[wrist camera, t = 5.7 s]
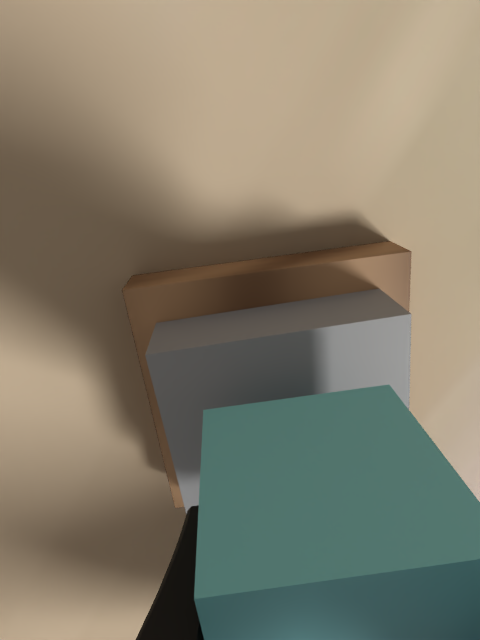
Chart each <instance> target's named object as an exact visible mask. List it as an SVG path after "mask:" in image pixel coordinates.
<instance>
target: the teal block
mask: <svg viewBox="0 0 480 640" xmlns="http://www.w3.org/2000/svg"><path fill="white" fill-rule="evenodd" d="M194 601H195V605H196V609H197V613H198V617H199V621H200V625H201V629H202V633H203V637H204V640H480V502H479V501H478V500H477V498H476V497H475V496H474V494H473V493H472V492H471V490H470V489H469V488H468V487H467V485H466V484H465V483H464V481H463V480H462V479H461V477H460V476H459V475H458V473H457V472H456V471H455V470H454V468H453V467H452V466H451V464H450V463H449V462H448V460H447V459H446V458H445V457H444V455H443V454H442V453H441V451H440V450H439V449H438V447H437V446H436V445H435V443H434V442H433V441H432V440H431V438H430V437H429V436H428V434H427V433H426V432H425V430H424V429H423V428H422V427H421V425H420V424H419V423H418V421H417V420H416V419H415V417H414V416H413V415H412V413H411V412H410V411H409V410H408V408H407V407H406V406H405V404H404V403H403V402H402V400H401V399H400V398H399V396H398V395H397V394H396V393H395V391H394V390H393V389H392V387H391V386H390V385H382V386H374V387H367V388H360V389H352V390H345V391H338V392H330V393H323V394H316V395H309V396H301V397H294V398H287V399H279V400H272V401H265V402H258V403H250V404H243V405H236V406H228V407H221V408H214V409H206V410H203V427H202V447H201V468H200V488H199V508H198V529H197V549H196V569H195V590H194Z"/></svg>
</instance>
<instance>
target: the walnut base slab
mask: <svg viewBox="0 0 480 640" xmlns="http://www.w3.org/2000/svg"><path fill="white" fill-rule="evenodd" d="M410 275H411V251H409V250H407V249H405V248H403V247H401V246H399V245H397V244H395V243H393V242H391V241H387V242H380V243H372V244H365V245H357V246H350V247H342V248H335V249H327V250H320V251H312V252H305V253H297V254H290V255H282V256H275V257H267V258H260V259H252V260H245V261H237V262H230V263H222V264H215V265H207V266H200V267H192V268H185V269H177V270H170V271H163V272H155V273H148V274H140V275H133V276H132V277H131V278H130V280H129V281H128V283H127V284H126V285H125V287H124V288H123V290H122V292H123V296H124V300H125V304H126V308H127V312H128V316H129V320H130V325H131V329H132V333H133V337H134V341H135V345H136V349H137V353H138V357H139V362H140V366H141V370H142V374H143V378H144V382H145V386H146V390H147V394H148V398H149V403H150V407H151V411H152V415H153V419H154V423H155V427H156V431H157V435H158V440H159V444H160V448H161V452H162V456H163V460H164V464H165V468H166V472H167V477H168V481H169V485H170V489H171V493H172V497H173V501H174V505H175V508H178V507H184V503H183V499H182V495H181V491H180V488H179V484H178V480H177V476H176V472H175V468H174V464H173V461H172V457H171V453H170V449H169V445H168V441H167V437H166V434H165V430H164V426H163V422H162V418H161V414H160V410H159V407H158V403H157V399H156V395H155V391H154V387H153V383H152V380H151V376H150V372H149V368H148V364H147V360H146V356H145V354H146V351H147V348H148V345H149V342H150V339H151V336H152V333H153V331H154V328H155V325H156V323H159V322H165V321H172V320H178V319H185V318H191V317H198V316H204V315H210V314H217V313H223V312H230V311H236V310H243V309H249V308H256V307H262V306H269V305H275V304H282V303H288V302H295V301H301V300H308V299H314V298H321V297H327V296H334V295H340V294H347V293H353V292H360V291H366V290H373V289H379V288H380V289H381V290H382V291H383V292H385V293H386V294H387V295H388V296H390V297H391V298H392V299H393V300H394V301H396V302H397V303H398V304H399V305H401V306H402V307H403V308H404V309H406V310H407V311H408V312H409V301H410Z"/></svg>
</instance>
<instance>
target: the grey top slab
mask: <svg viewBox="0 0 480 640" xmlns="http://www.w3.org/2000/svg"><path fill="white" fill-rule="evenodd" d="M410 347H411V313H409V312H408V311H407V310H406V309H404V308H403V307H402V306H401V305H399V304H398V303H397V302H396V301H394V300H393V299H392V298H391V297H390V296H388V295H387V294H386V293H385V292H383V291H382V290H381V289H380V288H379V289H373V290H366V291H360V292H353V293H347V294H340V295H334V296H327V297H321V298H314V299H308V300H301V301H295V302H288V303H282V304H275V305H269V306H262V307H256V308H249V309H243V310H236V311H230V312H223V313H217V314H210V315H204V316H198V317H191V318H185V319H178V320H172V321H165V322H159V323H156V325H155V328H154V331H153V333H152V336H151V339H150V342H149V345H148V348H147V351H146V354H145V356H146V360H147V364H148V368H149V372H150V376H151V380H152V383H153V387H154V391H155V395H156V399H157V403H158V407H159V410H160V414H161V418H162V422H163V426H164V430H165V434H166V437H167V441H168V445H169V449H170V453H171V457H172V461H173V464H174V468H175V472H176V476H177V480H178V484H179V488H180V491H181V495H182V499H183V503H184V507H185V511H186V514H187V511H188V509H189V508H190V507H191V506H197V505H199V488H200V468H201V447H202V427H203V410H206V409H214V408H221V407H228V406H236V405H243V404H250V403H258V402H265V401H272V400H279V399H287V398H294V397H301V396H309V395H316V394H323V393H330V392H338V391H345V390H352V389H360V388H367V387H374V386H382V385H390V386H391V387H392V389H393V390H394V391H395V393H396V394H397V395H398V396H399V398H400V399H401V400H402V402H403V403H404V404H405V406H406V407H407V408H408V410H409V393H410Z"/></svg>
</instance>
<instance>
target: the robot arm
mask: <svg viewBox="0 0 480 640" xmlns="http://www.w3.org/2000/svg"><path fill="white" fill-rule="evenodd" d="M198 508H199V505H197V506H191V507H190V508H189V509H188V511H187V515H186V518H185V522H184V525H183V528H182V531H181V534H180V537H179V540H178V543H177V546H176V548H175V551H174V554H173V556H172V559H171V562H170V564H169V567H168V569H167V571H166V574H165V576H164V579H163V581H162V584H161V586H160V588H159V591H158V593H157V595H156V598H155V600H154V602H153V604H152V606H151V608H150V611H149V613H148V615H147V617H146V619H145V621H144V623H143V625H142V628H141V630H140V632H139V634H138V636H137V638H136V640H204V637H203V633H202V629H201V625H200V621H199V617H198V613H197V609H196V605H195V601H194V590H195V569H196V549H197V529H198Z"/></svg>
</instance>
